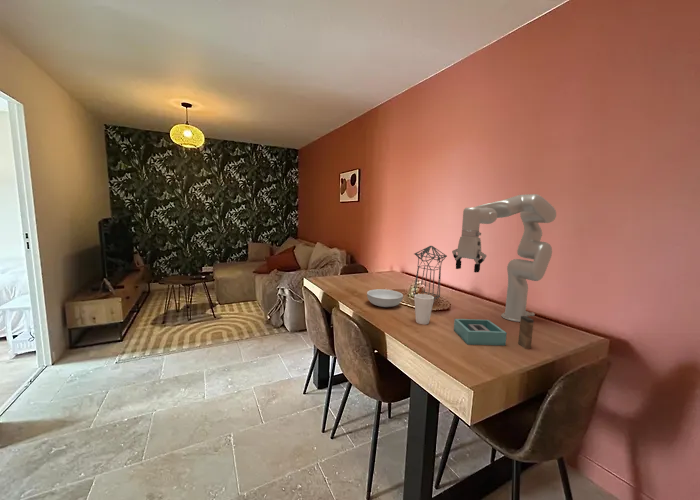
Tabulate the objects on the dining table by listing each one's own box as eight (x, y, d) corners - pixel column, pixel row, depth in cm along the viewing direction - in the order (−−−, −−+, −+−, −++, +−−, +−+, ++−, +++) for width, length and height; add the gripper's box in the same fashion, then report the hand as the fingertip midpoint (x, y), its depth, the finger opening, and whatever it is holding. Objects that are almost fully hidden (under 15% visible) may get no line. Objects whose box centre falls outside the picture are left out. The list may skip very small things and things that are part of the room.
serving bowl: (362, 307, 176) (363, 295, 175) (370, 298, 196) (371, 287, 195) (399, 312, 170) (400, 300, 169) (404, 302, 190) (405, 291, 189)
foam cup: (410, 323, 154) (411, 297, 152) (415, 317, 162) (417, 293, 160) (429, 326, 149) (431, 300, 148) (434, 321, 157) (436, 296, 156)
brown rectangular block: (523, 343, 133) (526, 316, 132) (530, 348, 129) (533, 320, 127) (518, 343, 133) (520, 316, 132) (524, 348, 128) (528, 320, 127)
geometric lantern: (419, 297, 202) (425, 243, 198) (443, 303, 192) (449, 246, 188) (407, 302, 190) (413, 244, 185) (432, 308, 180) (438, 247, 176)
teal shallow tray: (487, 331, 147) (488, 319, 146) (505, 345, 131) (506, 332, 130) (453, 330, 146) (454, 318, 145) (467, 344, 130) (468, 331, 129)
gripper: (492, 235, 142) (488, 272, 144) (458, 232, 156) (456, 267, 158) (482, 235, 138) (479, 274, 140) (449, 233, 151) (446, 268, 153)
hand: (467, 270), depth 149 cm, fingers open, 9 cm apart
